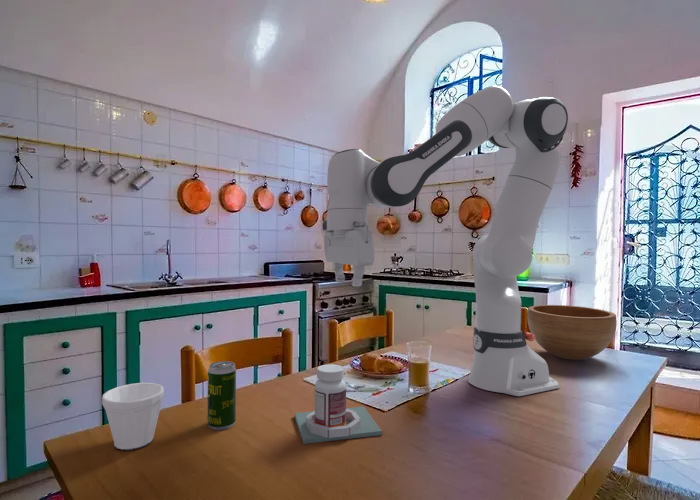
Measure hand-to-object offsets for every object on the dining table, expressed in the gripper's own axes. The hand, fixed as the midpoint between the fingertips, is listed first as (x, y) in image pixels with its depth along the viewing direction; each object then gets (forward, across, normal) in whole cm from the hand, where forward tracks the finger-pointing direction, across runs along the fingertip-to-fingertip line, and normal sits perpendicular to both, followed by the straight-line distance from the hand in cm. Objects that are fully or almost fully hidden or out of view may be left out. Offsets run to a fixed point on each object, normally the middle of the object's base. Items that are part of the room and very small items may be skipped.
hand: (348, 284), depth 97 cm
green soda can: (+26, -2, +28) cm, 39 cm away
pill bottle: (+26, -12, +9) cm, 30 cm away
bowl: (+29, +8, -79) cm, 85 cm away
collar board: (+27, -10, +7) cm, 30 cm away
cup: (+26, -3, +44) cm, 51 cm away
